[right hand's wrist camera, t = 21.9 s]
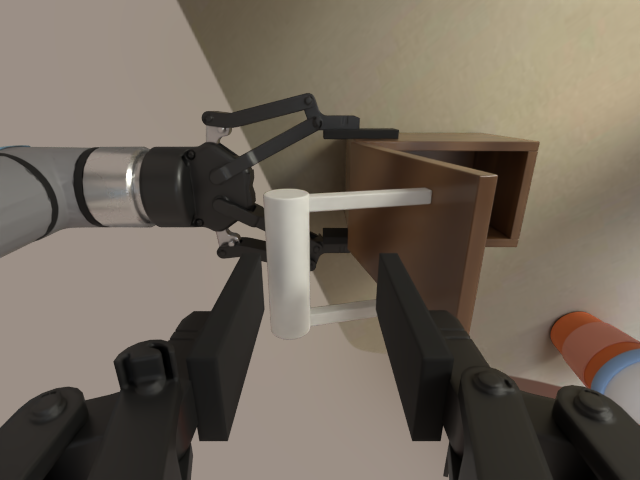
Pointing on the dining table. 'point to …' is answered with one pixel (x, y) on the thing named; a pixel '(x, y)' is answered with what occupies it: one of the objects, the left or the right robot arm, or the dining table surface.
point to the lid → (384, 235)
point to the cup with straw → (601, 358)
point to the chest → (480, 154)
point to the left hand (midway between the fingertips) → (391, 187)
